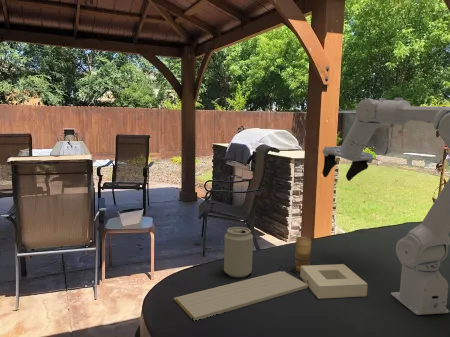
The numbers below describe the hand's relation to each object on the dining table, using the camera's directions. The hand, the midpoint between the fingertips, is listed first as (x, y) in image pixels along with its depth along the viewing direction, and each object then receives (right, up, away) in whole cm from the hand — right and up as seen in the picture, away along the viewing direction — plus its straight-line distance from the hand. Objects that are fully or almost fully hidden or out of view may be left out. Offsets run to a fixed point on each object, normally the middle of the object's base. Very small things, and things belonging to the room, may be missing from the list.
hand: (336, 176), depth 107 cm
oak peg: (-12, -26, -7) cm, 29 cm away
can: (-29, -26, -10) cm, 40 cm away
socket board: (-6, -27, -17) cm, 32 cm away
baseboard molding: (-29, -28, -21) cm, 45 cm away
